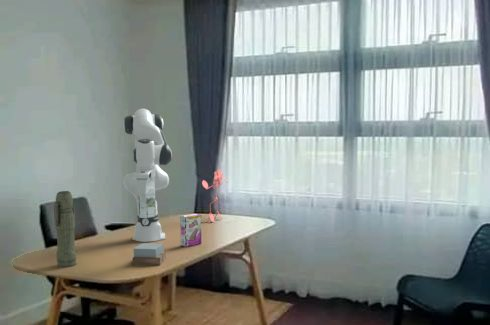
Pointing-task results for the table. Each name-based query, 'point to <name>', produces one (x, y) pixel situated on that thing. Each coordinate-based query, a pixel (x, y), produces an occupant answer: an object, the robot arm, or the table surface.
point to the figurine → (218, 181)
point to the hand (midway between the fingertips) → (146, 202)
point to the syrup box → (147, 205)
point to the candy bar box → (190, 230)
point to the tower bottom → (149, 260)
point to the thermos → (65, 229)
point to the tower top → (148, 250)
